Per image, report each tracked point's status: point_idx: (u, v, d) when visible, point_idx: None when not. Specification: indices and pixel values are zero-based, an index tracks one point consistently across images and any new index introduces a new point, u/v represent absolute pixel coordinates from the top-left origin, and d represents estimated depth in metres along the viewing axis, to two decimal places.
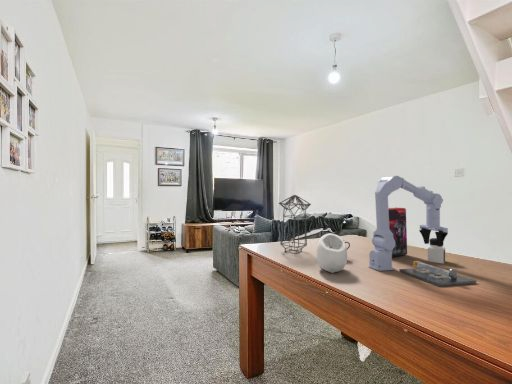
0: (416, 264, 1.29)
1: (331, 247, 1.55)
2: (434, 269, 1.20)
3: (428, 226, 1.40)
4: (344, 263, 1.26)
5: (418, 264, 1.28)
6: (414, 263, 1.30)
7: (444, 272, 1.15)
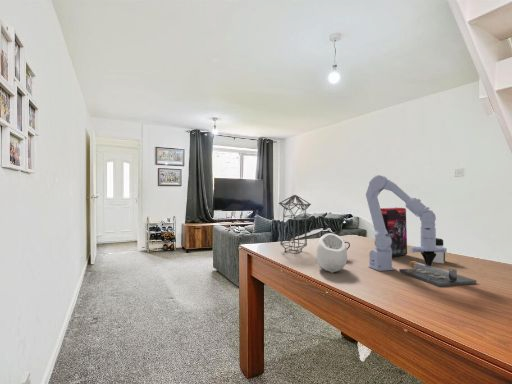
0: (413, 264, 1.29)
1: None
2: (433, 269, 1.19)
3: (432, 248, 1.23)
4: (344, 263, 1.26)
5: (415, 264, 1.28)
6: (411, 263, 1.30)
7: (444, 272, 1.15)
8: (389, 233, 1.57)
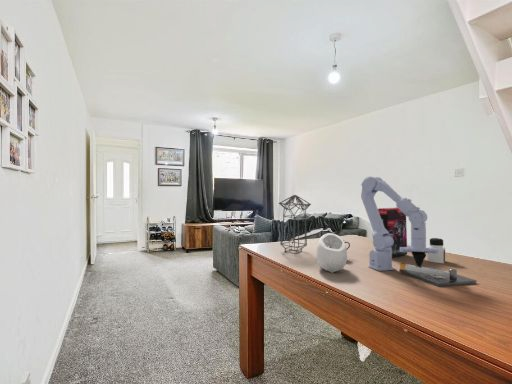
0: (405, 267, 1.25)
1: None
2: (430, 270, 1.17)
3: (420, 249, 1.22)
4: (344, 263, 1.26)
5: (407, 266, 1.24)
6: (402, 266, 1.26)
7: (444, 273, 1.14)
8: (389, 233, 1.57)
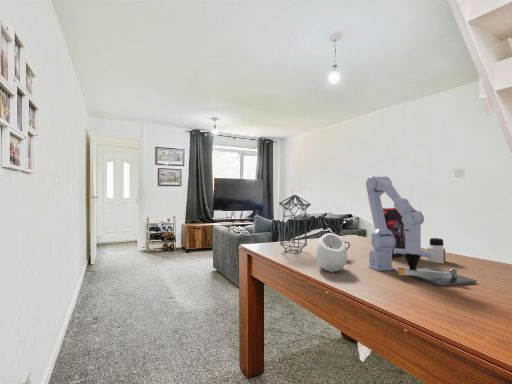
0: (404, 272, 1.17)
1: None
2: (431, 273, 1.14)
3: (411, 251, 1.17)
4: (344, 263, 1.27)
5: (407, 271, 1.17)
6: (401, 271, 1.17)
7: (445, 274, 1.12)
8: None
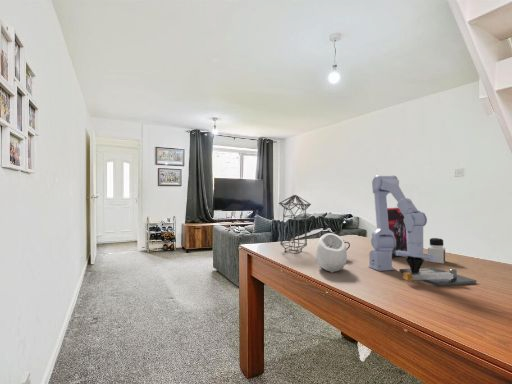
0: (412, 277, 1.10)
1: None
2: (436, 275, 1.11)
3: (412, 254, 1.13)
4: (344, 262, 1.27)
5: (415, 276, 1.10)
6: (410, 276, 1.10)
7: (448, 275, 1.11)
8: None
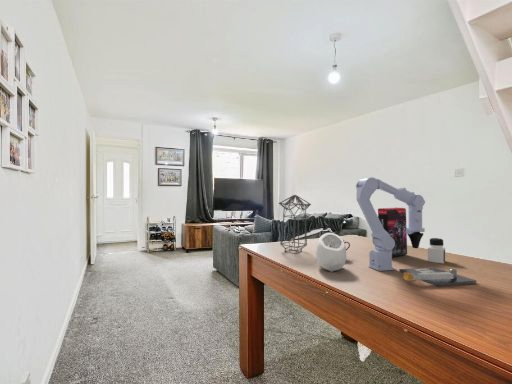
0: (412, 277, 1.10)
1: None
2: (436, 275, 1.11)
3: (421, 229, 1.35)
4: (343, 262, 1.28)
5: (415, 276, 1.10)
6: (410, 276, 1.10)
7: (448, 275, 1.11)
8: (389, 233, 1.57)
